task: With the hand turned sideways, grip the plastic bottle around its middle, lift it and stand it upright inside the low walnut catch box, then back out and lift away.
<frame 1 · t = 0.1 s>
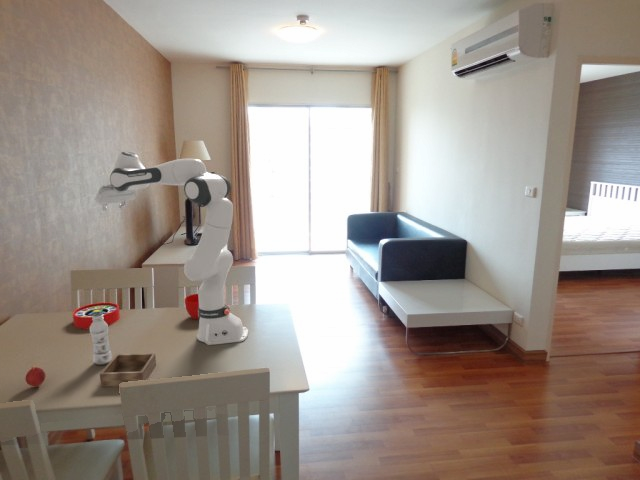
hand: (113, 209, 202), 54 cm above the table, tool tilted 30°, fingers open, 8 cm apart
toy clock: (97, 321, 208), on the table
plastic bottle: (103, 363, 166), on the table
ceramic cup: (202, 315, 214), on the table
catch box: (130, 375, 157), on the table
red pomegranate: (37, 387, 150), on the table
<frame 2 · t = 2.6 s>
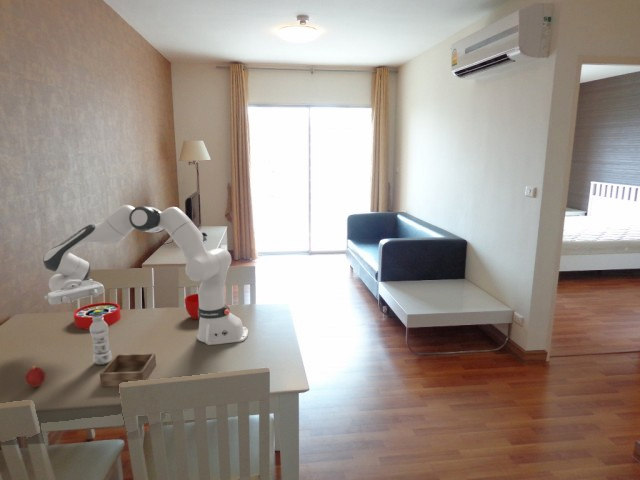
hand: (83, 297, 169), 24 cm above the table, tool horizontal, fingers open, 8 cm apart
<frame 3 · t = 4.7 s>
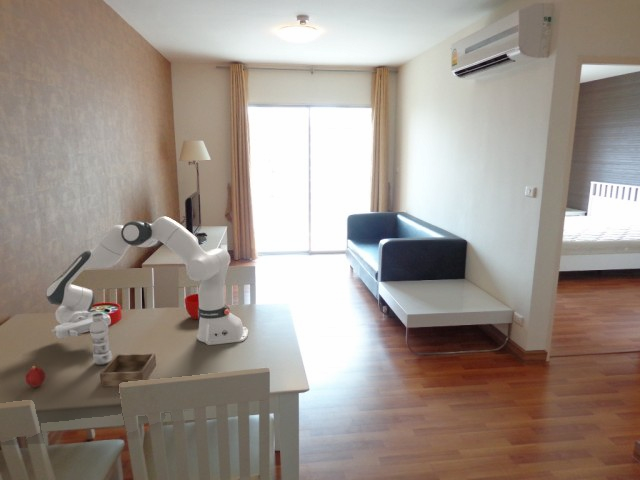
hand: (91, 330, 170), 11 cm above the table, tool horizontal, fingers open, 8 cm apart
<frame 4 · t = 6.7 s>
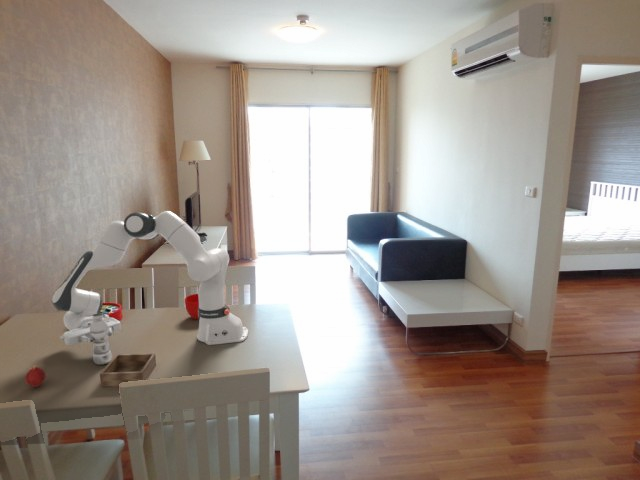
hand: (101, 337, 164), 11 cm above the table, tool horizontal, fingers closed on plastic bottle, 6 cm apart
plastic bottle: (103, 363, 166), on the table, touching gripper
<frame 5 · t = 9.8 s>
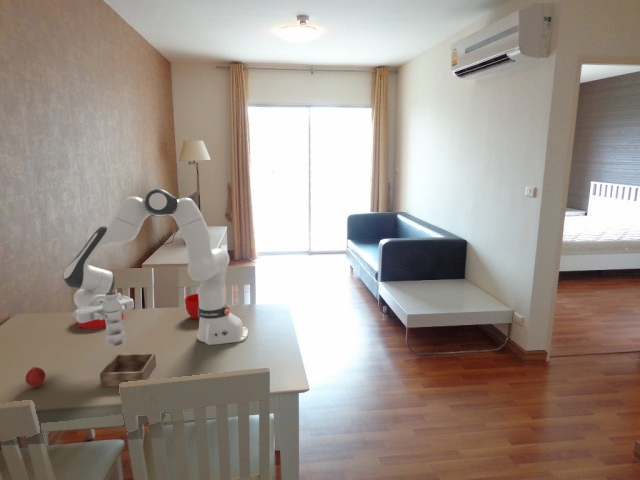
hand: (114, 314, 156), 23 cm above the table, tool horizontal, fingers closed on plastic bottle, 6 cm apart
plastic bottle: (116, 344, 159), point 10 cm above the table, touching gripper
when the fingers open (13 cm above the table, at t = 13.0 s): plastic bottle stays where it is, resting on catch box.
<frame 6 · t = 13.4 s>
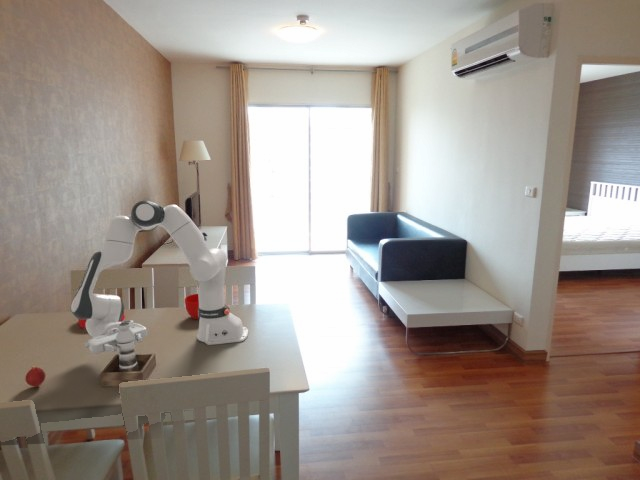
hand: (128, 344, 154), 13 cm above the table, tool horizontal, fingers open, 8 cm apart
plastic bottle: (129, 375, 157), resting on catch box
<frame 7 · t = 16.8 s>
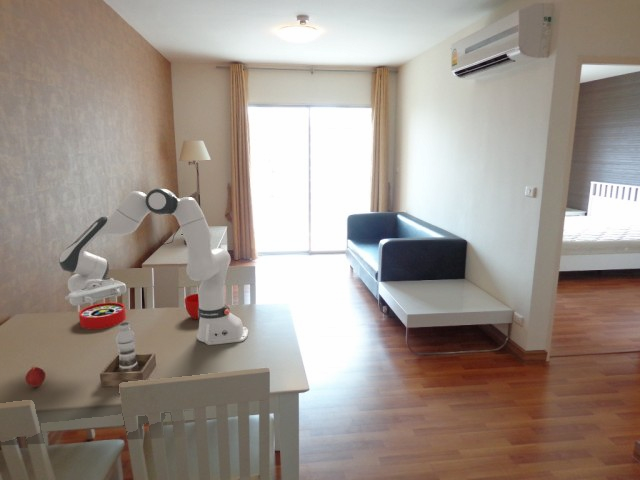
hand: (106, 297, 161), 27 cm above the table, tool horizontal, fingers open, 8 cm apart
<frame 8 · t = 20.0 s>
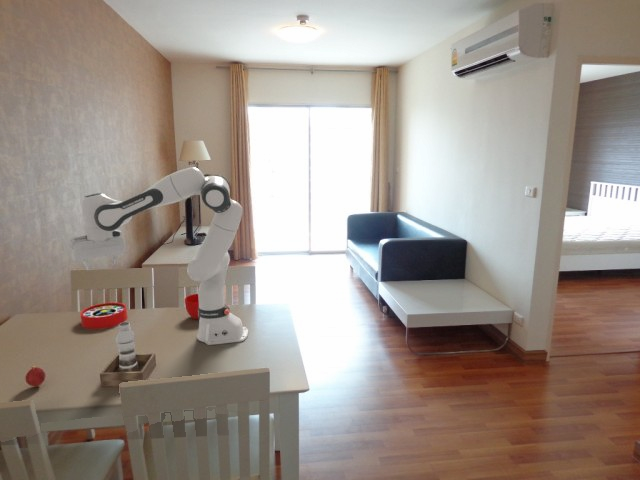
hand: (101, 267, 173), 35 cm above the table, tool pointing down, fingers open, 8 cm apart
at the end: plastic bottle 0.3 cm from the catch box (horizontally); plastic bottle tilted 0°; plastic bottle touching catch box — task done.
